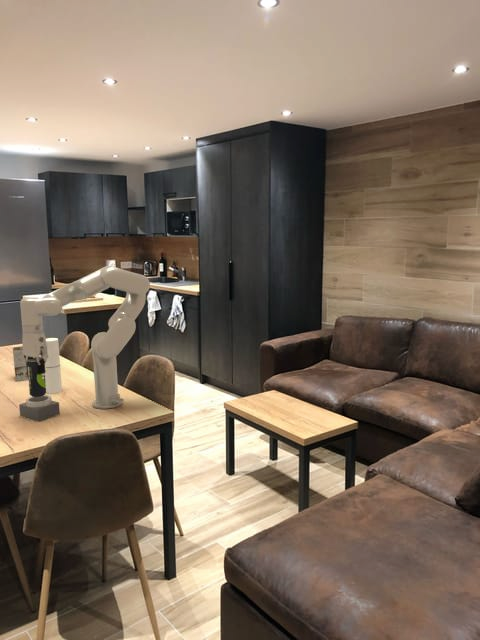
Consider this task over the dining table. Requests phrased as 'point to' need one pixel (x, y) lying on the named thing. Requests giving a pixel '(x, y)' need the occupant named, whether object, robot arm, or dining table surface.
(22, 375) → the coffee box
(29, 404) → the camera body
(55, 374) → the cylindrical container
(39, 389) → the beverage can
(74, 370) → the dining table surface
